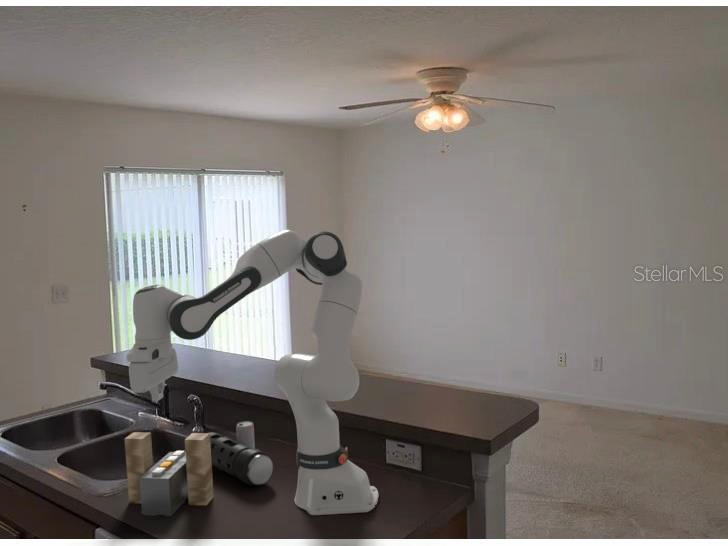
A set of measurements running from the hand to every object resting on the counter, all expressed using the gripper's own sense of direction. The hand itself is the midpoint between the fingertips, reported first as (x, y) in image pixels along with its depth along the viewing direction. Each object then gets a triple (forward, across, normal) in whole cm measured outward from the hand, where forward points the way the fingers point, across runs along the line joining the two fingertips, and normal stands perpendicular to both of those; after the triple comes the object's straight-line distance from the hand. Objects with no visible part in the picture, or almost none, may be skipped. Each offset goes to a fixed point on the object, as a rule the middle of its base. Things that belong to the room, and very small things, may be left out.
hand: (157, 399), depth 168 cm
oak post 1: (+29, -4, -9) cm, 31 cm away
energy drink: (+30, -32, +12) cm, 45 cm away
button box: (+29, -4, 0) cm, 30 cm away
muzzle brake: (+30, -21, +12) cm, 38 cm away
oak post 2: (+29, -4, +8) cm, 31 cm away
